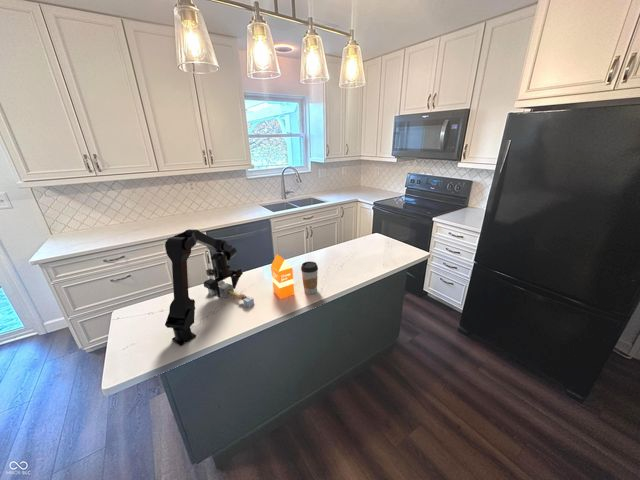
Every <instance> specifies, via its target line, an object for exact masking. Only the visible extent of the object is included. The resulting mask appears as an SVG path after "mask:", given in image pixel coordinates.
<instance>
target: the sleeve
mask: <svg viewBox="0 0 640 480" xmlns="http://www.w3.org/2000/svg"><path fill="white" fill-rule="evenodd" d="M227 290H230V291H233V292H235V289H233V285H232V283H228V282H225V284H223V285H222V286H220V287H219V291H220V296H222V297H224V298H228V297H229V296H232V294H231V293H229V292H228V291H227Z"/></svg>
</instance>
